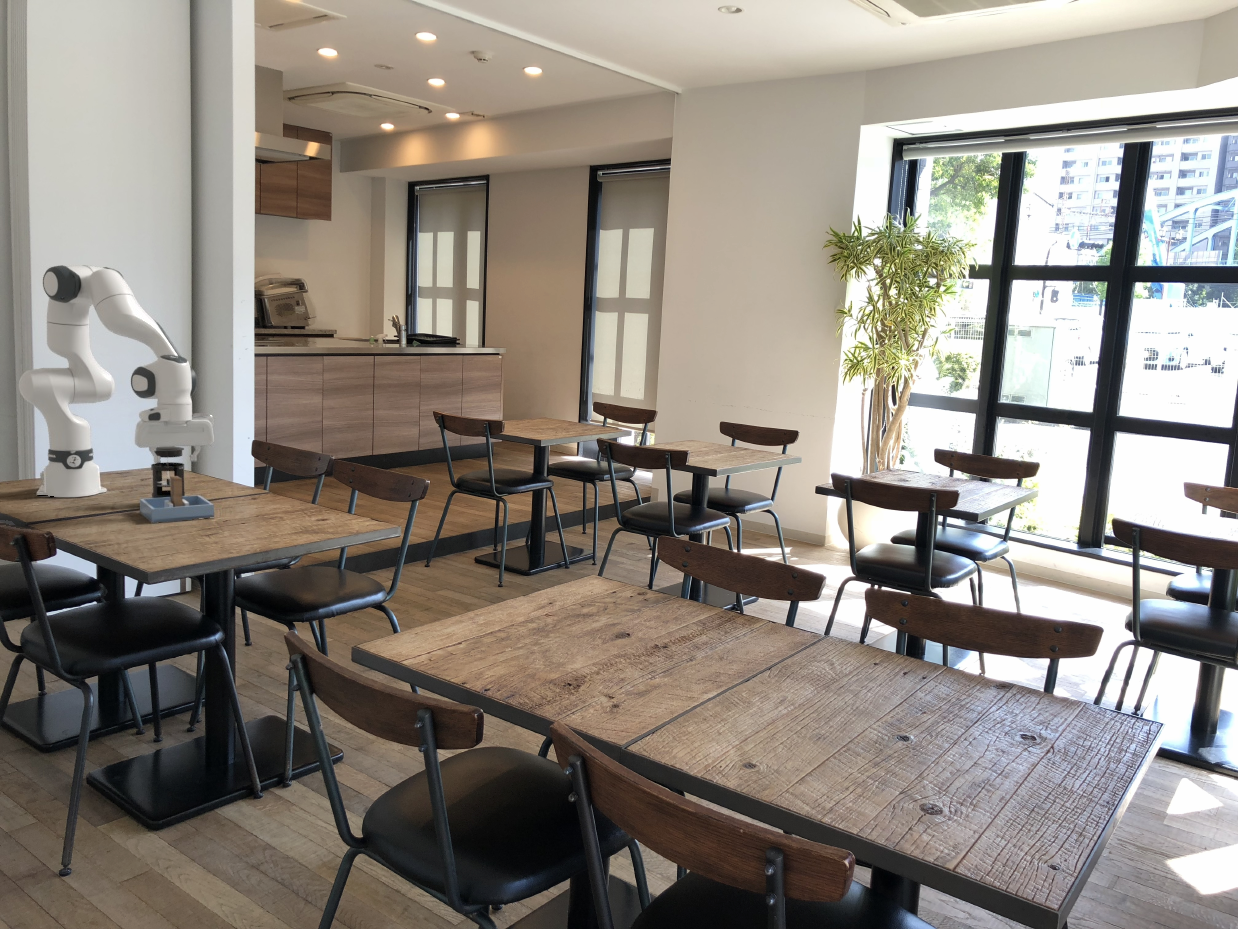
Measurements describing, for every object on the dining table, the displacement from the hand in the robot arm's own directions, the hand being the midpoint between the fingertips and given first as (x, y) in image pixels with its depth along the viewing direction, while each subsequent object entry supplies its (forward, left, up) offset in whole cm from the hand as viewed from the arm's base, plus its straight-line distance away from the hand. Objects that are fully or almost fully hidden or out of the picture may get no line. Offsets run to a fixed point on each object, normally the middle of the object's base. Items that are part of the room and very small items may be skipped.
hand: (175, 462), depth 262 cm
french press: (-18, +2, -16) cm, 24 cm away
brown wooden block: (0, 0, -14) cm, 14 cm away
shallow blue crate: (0, 0, -15) cm, 15 cm away
